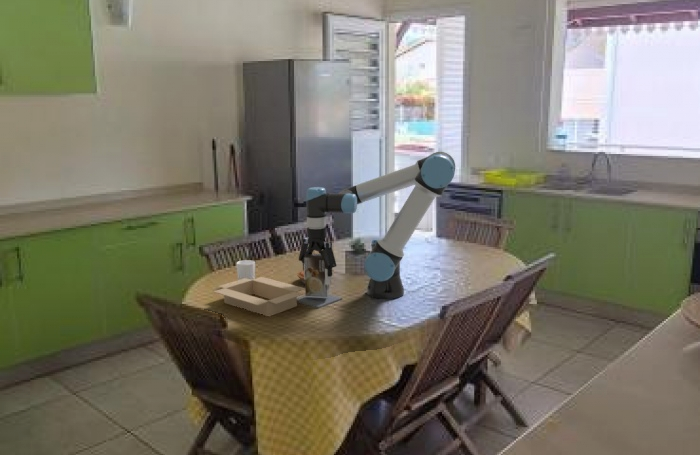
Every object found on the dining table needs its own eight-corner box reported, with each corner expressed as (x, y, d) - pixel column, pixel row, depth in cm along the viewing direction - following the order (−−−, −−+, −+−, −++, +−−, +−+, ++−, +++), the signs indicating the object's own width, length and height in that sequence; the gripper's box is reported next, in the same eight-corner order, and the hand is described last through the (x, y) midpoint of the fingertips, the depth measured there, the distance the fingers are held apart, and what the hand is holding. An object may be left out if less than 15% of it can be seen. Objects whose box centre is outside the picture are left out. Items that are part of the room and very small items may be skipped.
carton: (313, 305, 247) (312, 290, 246) (265, 322, 228) (265, 307, 227) (255, 288, 268) (255, 275, 267) (207, 303, 249) (207, 289, 248)
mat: (342, 299, 254) (342, 297, 254) (318, 308, 243) (318, 306, 243) (316, 292, 263) (316, 291, 262) (292, 301, 252) (292, 299, 252)
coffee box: (330, 292, 255) (330, 253, 251) (327, 297, 249) (326, 258, 245) (308, 291, 256) (307, 253, 253) (304, 296, 250) (303, 257, 247)
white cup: (240, 288, 268) (239, 265, 266) (235, 283, 275) (234, 261, 273) (258, 285, 272) (257, 263, 270) (252, 281, 279) (251, 259, 277)
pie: (339, 280, 280) (339, 269, 279) (320, 289, 267) (319, 277, 266) (310, 275, 288) (310, 264, 287) (290, 283, 275) (290, 272, 274)
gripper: (345, 229, 242) (345, 284, 247) (301, 221, 257) (302, 274, 261) (332, 232, 237) (333, 289, 241) (288, 224, 251) (290, 278, 256)
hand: (317, 281), depth 251 cm, fingers closed on coffee box, 11 cm apart
